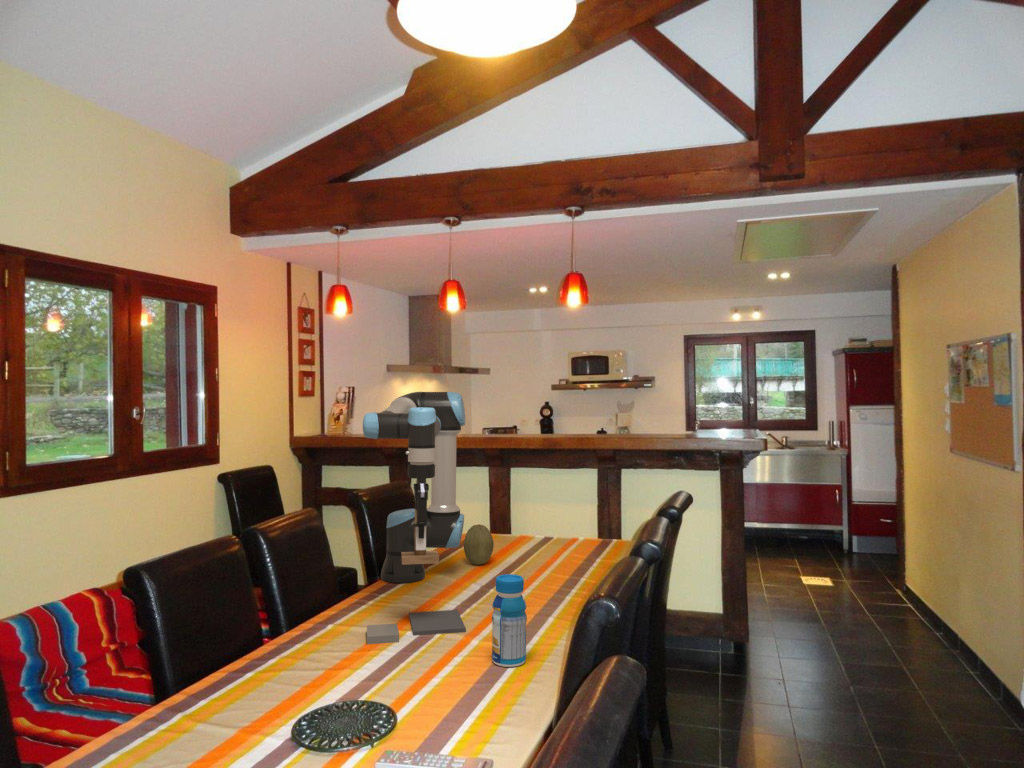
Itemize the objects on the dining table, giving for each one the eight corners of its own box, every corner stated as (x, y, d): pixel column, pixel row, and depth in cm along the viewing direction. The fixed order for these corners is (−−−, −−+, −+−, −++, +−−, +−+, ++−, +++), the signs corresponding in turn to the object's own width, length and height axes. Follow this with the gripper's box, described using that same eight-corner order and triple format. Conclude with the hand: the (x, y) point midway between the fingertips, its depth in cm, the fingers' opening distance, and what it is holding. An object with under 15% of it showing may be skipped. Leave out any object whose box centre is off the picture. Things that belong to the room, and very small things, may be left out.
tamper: (401, 559, 189) (401, 508, 190) (437, 557, 191) (437, 508, 192) (402, 564, 184) (402, 512, 184) (439, 563, 186) (439, 511, 186)
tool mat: (408, 616, 195) (408, 612, 195) (457, 613, 198) (457, 609, 198) (413, 635, 180) (413, 631, 180) (465, 631, 183) (465, 628, 183)
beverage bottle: (514, 671, 157) (515, 584, 157) (484, 663, 162) (485, 578, 162) (532, 659, 164) (533, 576, 165) (503, 652, 169) (504, 571, 169)
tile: (366, 625, 182) (367, 636, 173) (397, 623, 184) (399, 634, 175) (366, 633, 182) (367, 645, 173) (397, 631, 184) (399, 643, 175)
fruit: (499, 563, 258) (499, 523, 258) (482, 569, 249) (482, 528, 249) (474, 559, 264) (475, 520, 265) (457, 565, 255) (457, 524, 255)
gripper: (406, 460, 195) (405, 542, 195) (409, 466, 179) (407, 555, 179) (432, 460, 197) (431, 541, 196) (437, 466, 181) (436, 554, 180)
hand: (420, 548), depth 188 cm, fingers closed on tamper, 3 cm apart
